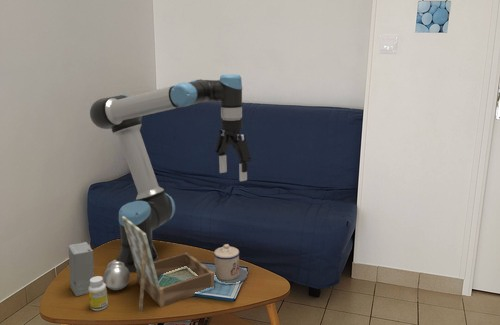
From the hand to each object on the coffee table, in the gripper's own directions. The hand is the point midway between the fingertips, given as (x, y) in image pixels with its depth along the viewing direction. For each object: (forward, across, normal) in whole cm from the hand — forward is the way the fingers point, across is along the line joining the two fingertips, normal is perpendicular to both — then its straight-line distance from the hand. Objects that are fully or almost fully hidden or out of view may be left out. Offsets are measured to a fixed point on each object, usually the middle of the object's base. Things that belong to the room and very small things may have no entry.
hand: (232, 176), depth 169 cm
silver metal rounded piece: (+35, +8, +43) cm, 56 cm away
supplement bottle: (+35, 0, +52) cm, 63 cm away
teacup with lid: (+34, -7, +7) cm, 35 cm away
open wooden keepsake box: (+35, -2, +29) cm, 46 cm away
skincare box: (+35, +14, +53) cm, 65 cm away
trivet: (+35, -8, +7) cm, 36 cm away
